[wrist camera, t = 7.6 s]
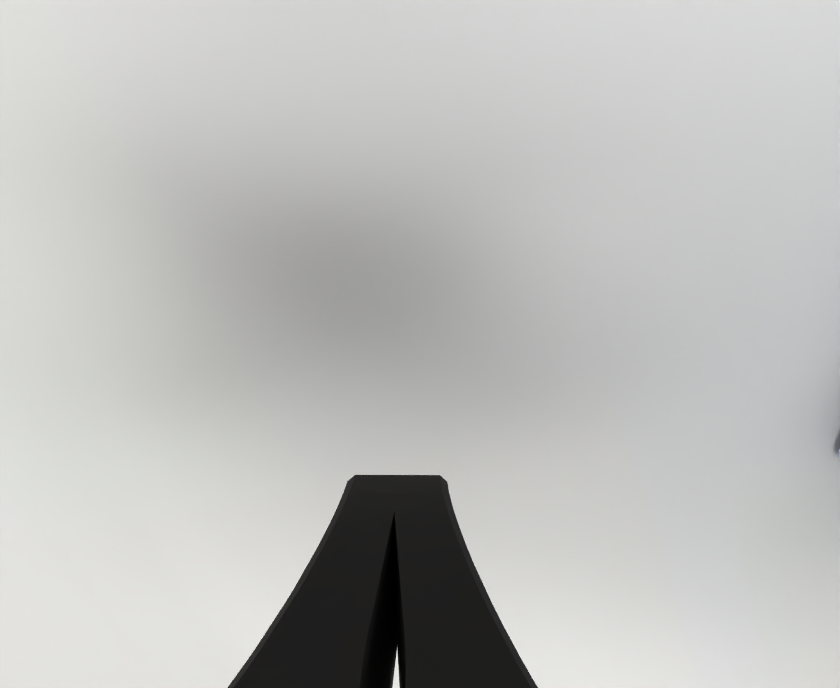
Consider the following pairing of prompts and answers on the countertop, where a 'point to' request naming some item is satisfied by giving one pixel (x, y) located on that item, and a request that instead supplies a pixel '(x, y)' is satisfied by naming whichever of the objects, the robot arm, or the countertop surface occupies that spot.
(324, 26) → the countertop surface
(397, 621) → the robot arm
